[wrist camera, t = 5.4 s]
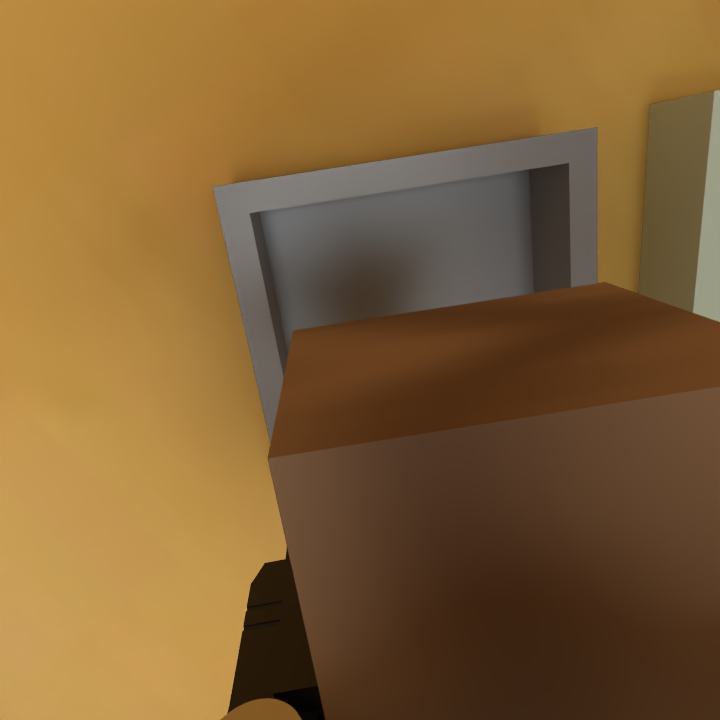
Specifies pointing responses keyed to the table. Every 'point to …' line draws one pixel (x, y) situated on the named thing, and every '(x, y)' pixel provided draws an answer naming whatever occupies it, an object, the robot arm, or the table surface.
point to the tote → (407, 238)
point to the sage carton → (683, 205)
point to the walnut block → (507, 509)
